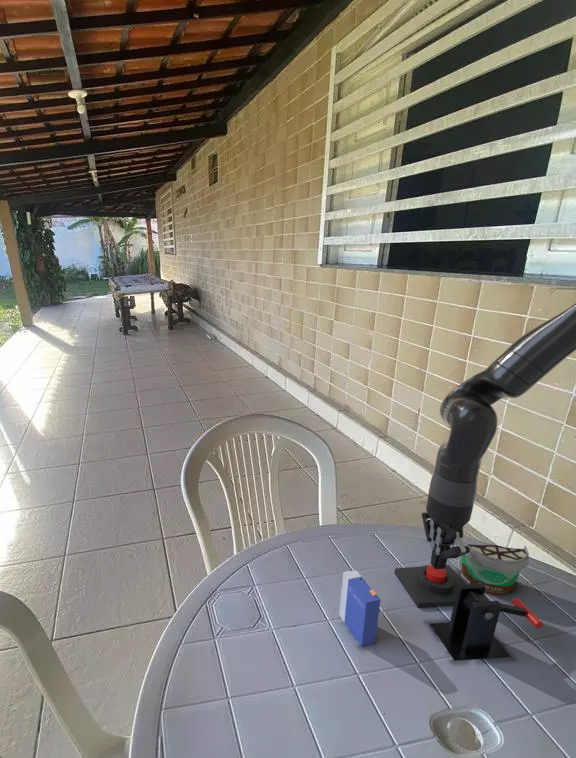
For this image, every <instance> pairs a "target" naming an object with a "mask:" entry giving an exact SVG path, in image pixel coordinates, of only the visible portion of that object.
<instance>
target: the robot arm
mask: <svg viewBox="0 0 576 758" xmlns="http://www.w3.org/2000/svg"><path fill="white" fill-rule="evenodd" d="M575 351H576V302H575V303H574V304H572V305H571V306H569V307H568V308H566V309H565V310H563V311H561V312H560V313H558V314H556V315H555V316H552V317H550V318H549V319H547V320H545V321H544V322H542V323H540V324H538V325H537V326H534V327H533V328H532V329H530V330H528V331H527V332H525V333H523V334H522V335H521V336H520V337H518V338H517V339H516V340H515V341H513V342H512V343H511V344H510V345H509V346H508V347H507V348H506V349H505V350H503V352H501V353H500V354H499V355H498V356H497V357H496V358H495V359H494V360H493V361H492V362H491V363H490V364H488V366H487V367H486V368H484V369H483V370H481V371H479V372H478V373H476V374H473V375H472V376H470V377H469V378H468V379H466V380H464V381H463V382H461V383H460V384H459V385H457V386H455V387H454V388H453V389H451V391H449V393H447V394H446V396H445V397H444V398H443V399H442V401H441V403H440V405H439V410H438V413H439V417H440V418H441V419H442V421H443V422H444V423H445V424H446V426H447V427H448V428H449V429H450V430H449V436H448V440H446V441H444V442H442V443H441V444H440V445H439V447H438V450H437V453H436V457H435V464H434V469H433V473H432V475H431V477H430V478H431V479H430V483H429V489H428V494H427V501H426V505H425V506H426V507H425V512H421V518H422V523H423V529H424V533H425V537H426V542H428V543H430V549H431V556H430V565H432V566H433V567H434V568H435V569H443V568H445V567H446V565H447V561H448V559H457V558H460V557H462V555H464V554H467V553H469V552H470V548H469V547H468V546H464V544H463V540H462V538H463V537H464V526H466V524H468V523H469V522H470V521H471V519H472V514H473V508H474V504H475V500H476V499H475V498H476V495H477V491H478V478H479V473H480V469H481V465H482V459H483V457H484V456H485V454H486V453H487V451H488V449H489V447H490V445H491V444H492V441H493V440H494V438H495V435H496V433H497V429H498V414H497V412H496V409H495V408H494V407H493V406H492V405H494V404H495V403H497V402H498V401H500V400H502V399H504V398H508V399H518V398H520V397H522V396H523V395H524V394H526V393H527V392H528V391H529V390H531V388H533V387H534V386H535V385H536V384H537V383H539V382H540V381H541V380H542V379H543V378H544V377H545V376H547V375H548V374H549V373H550V372H551V371H553V370H554V369H555V368H556V367H557V366H559V365H560V364H561V363H562V362H563V361H565V360H566V359H567V358H568V357H569V356H571V355H572V354H573V353H575Z"/></svg>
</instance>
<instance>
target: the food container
mask: <svg viewBox="0 0 576 758" xmlns="http://www.w3.org/2000/svg"><path fill="white" fill-rule="evenodd" d="M462 542H463V544H464V546H468V547H469V548H470V552H469V553H467V554H464V555H462V556H461V566H460V576H461V577H462V580H463V581H465V582H466V584H483V585H484V586H485V587H486V588H485V593H486V594H490V595H496V596H497V595H498V596H501V595H502V596H503V595H508V594H510V593H511V592H512V591H513V589H514V587H515V585H516V582H517V580H518V578H519V576H520V573H521V571H522V570H524V569H526V568H527V566H529V564H530V558H529V557H530V556H529V551H528V547H527V545H524V547H523V548H514V547H506V546H502V545H496V544H470V543H467V542H466V540H465V539H463V540H462Z"/></svg>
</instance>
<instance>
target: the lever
mask: <svg viewBox="0 0 576 758" xmlns="http://www.w3.org/2000/svg"><path fill="white" fill-rule="evenodd" d="M485 601H490V600H489V598H488V597H487V596H486V594H485V593H484V594H480V593H475V592H471V591H470V592H469V593H468V595H467V596H466V598H465V599H464V601H463V602H464V603H465V604H466V605H467V607H468V608H469V609H470V610H471V607H472V603H473V602H485ZM500 603H501V605H502V606H501V610H500V613H506V614H510V615H515V616H518V617H519V616H520V617H524V618H525V619H527V621H528V622H529V623H530V624H531V625H532V626H533V627H534V628H535V629H542V628H543V627H544V622H543V621H542V620H540V618H538V616H536V614H535V613H534V612H533V611H532V610H531V609H530V608H529V607H528V606H527V604H525V603H524V602H523V601H522V600H521V599H520V598H519V597H515V598H513V599H512V600H511V604H512V605H511V604H507V603H502V602H500Z"/></svg>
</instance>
